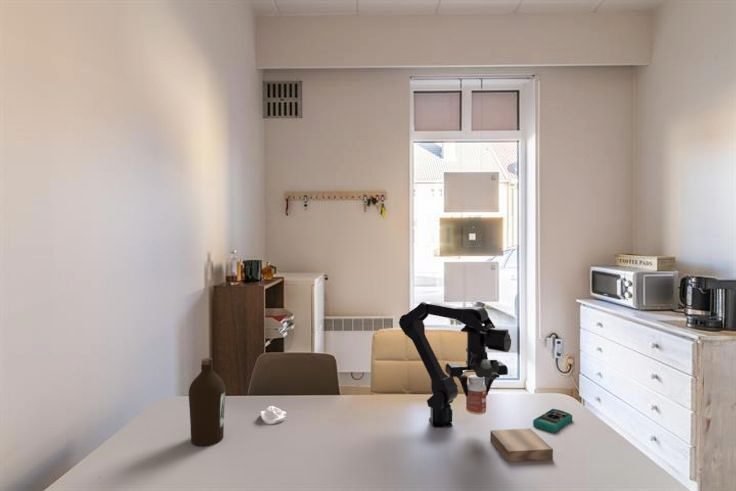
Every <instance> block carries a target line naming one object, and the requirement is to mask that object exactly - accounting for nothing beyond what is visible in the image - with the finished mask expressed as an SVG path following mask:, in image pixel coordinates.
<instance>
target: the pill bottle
mask: <svg viewBox="0 0 736 491" xmlns="http://www.w3.org/2000/svg"><path fill="white" fill-rule="evenodd" d="M467 389H468V396H467V397H466V396H465V397H466V398H465V399H466V402H465V405H466V406H465V407H466V408H465V409H466V412H468V413H469V414H471V415H477V416H479V415H481V416H482V415H484V414H486V413H487V396H486V386H485V384H484V377H482V378H479V377H477V376H476V374H470V375H469V376H468V382H467Z"/></svg>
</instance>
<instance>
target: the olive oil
mask: <svg viewBox="0 0 736 491" xmlns="http://www.w3.org/2000/svg"><path fill="white" fill-rule="evenodd" d="M200 366H201V367H200V368H201V369H200V370H201V371H200V373H199V374H198V375H197V376H196V377H195V378H194V379H193V380H192V381H191V383H190V384H189V385H190V386H189V388H188V406H189V420H190V442H191V444H192V445H193V446H195V447H209V446H212V445H216V444H218V443H220V442H222V440H223V439H224V431H225V430H224V429H225V405H226V385H225V383H224V379H222V378H221V377H220V375H219V374H217V373H216V372H215V371H214V370H213V369H214V364H213V358H212V357H205V358H202V359H201V364H200Z"/></svg>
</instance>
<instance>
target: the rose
mask: <svg viewBox="0 0 736 491" xmlns="http://www.w3.org/2000/svg"><path fill="white" fill-rule="evenodd" d="M259 413H260V417H261V419H262V421H263V422H264V423H265V424H266V425H275V424H278V423H281V422H283V421H284V420H285V419H286V415H287V412H286V411H284V410H281V409H280V408H278V407H276V406H274V405H270V406H268V407H267V408H266V409H265V410H261V411H260V412H259Z"/></svg>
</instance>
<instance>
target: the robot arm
mask: <svg viewBox="0 0 736 491" xmlns="http://www.w3.org/2000/svg"><path fill="white" fill-rule="evenodd" d="M429 315H431V316H436V317H442V318H447V319H452V320H456V321H458V322H460V323H461V324H464V325H465V326H464V327H463V328H461V329H460V332H462V333H466V334H467V335H466V337H467V338H466V342H467V343H466V347H465V351H466V360H465V364H466V365H461V364H460V363H459V362H447V363H446V364H445V366H444V367H445V372H444V370H443V368H442V366H441V365H440V362H439V360H438V358H437V356H436V354H435V352H434V350H433V348H432V347H431V345H430V342H429V340H428V338H427V336H426V333H425V329H426V328H425V323H424V321H425V320H426V319H427V318H428V317H429ZM398 324H399V327H400V329H401V330H402V332H403V333H404V335H405V336H407V337H408V338H409V339H410V340H411V341H412V343H413V345H414V347H415V349H416V351H417V353H418V355H419V358H420V360H421V361H422V364H423V366H424V367H425V370H426V371H427V373H428V376H429V378H430V383H431V386H430V387H431V388H430V389H431V392H432V395H431V396H430V397H429V398H427V400H426V403H427V406H428V408H430V414H429V415H430V416H429V417H428V420H429V421H430V423H431V425H432V427H433V428H443V427H453V423H452V422H453V408H452V406H451V404H452V403H453V402H454V400H455V399H456V398H457V397H458V393H459V390H458V387H459V385H458V384H457V383H456V382H455V379H454V378H457V379H458V380H459V382H460V385H461V388H462V390H463V393H464V396H465V397H467V396H468V389H467V384H468V380H469V376H467V373H475V375H476V376H477V377H479V378H482V377H484V382H483V384H485V386H486V397H487V396H488V394H489V391H490V389H491V386H492V385H493V382H494V381H495V380H496V379H497V378H500V376H507V375H509V370H508V366H507V365H506V364H504V363H503V362H501V361H500V360H499V361H498V359H489V358H488V351H487V349H488V350H492V351H496V352H503V353H509V352H510V350H511V347H512V339H511V335H510V334H509V329H508V328H507V329H506V328H498V327H497V328H496V325H495V324H494V322H493V321H492V319H491V318H490V317H489V314H488V311H487V309H486V308H485V307H483V306H464V307H463V306H455V305H449V304H443V303H437V302H432V301H430V300H427V301H422V302H420V303H419V304H418V305H417V306H416V307H414V308H413V309H411V310H410V311H409V312H407V313H406V314H402V315H401V316H400V318H399V321H398ZM447 374H448V375H447Z"/></svg>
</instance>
